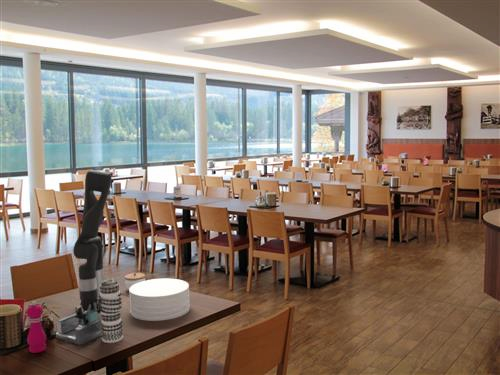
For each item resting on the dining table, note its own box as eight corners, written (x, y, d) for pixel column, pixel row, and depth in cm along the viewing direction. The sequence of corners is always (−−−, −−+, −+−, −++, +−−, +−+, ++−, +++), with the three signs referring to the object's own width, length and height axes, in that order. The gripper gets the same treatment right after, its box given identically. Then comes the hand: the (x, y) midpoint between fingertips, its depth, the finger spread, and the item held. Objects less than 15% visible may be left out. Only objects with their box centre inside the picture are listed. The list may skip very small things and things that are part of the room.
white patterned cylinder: (112, 332, 235) (108, 276, 232) (128, 336, 230) (125, 279, 227) (96, 340, 227) (92, 281, 224) (112, 344, 223) (109, 285, 219)
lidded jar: (129, 286, 300) (128, 269, 299) (148, 286, 299) (147, 269, 298) (122, 292, 289) (121, 275, 288) (142, 292, 288) (141, 275, 287)
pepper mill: (31, 346, 223) (27, 298, 220) (49, 345, 223) (46, 297, 221) (25, 353, 216) (21, 304, 213) (44, 352, 216) (40, 303, 214)
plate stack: (172, 296, 282) (171, 275, 280) (200, 311, 259) (199, 288, 258) (120, 309, 265) (119, 286, 264) (146, 325, 243) (145, 300, 241)
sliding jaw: (57, 332, 232) (56, 320, 231) (74, 325, 239) (74, 313, 238) (61, 334, 230) (60, 321, 230) (78, 327, 238) (78, 314, 237)
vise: (56, 337, 231) (55, 323, 230) (77, 329, 240) (76, 314, 239) (80, 345, 223) (79, 329, 222) (100, 335, 232) (99, 321, 231)
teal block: (82, 327, 242) (81, 312, 241) (89, 324, 245) (88, 309, 244) (91, 330, 239) (90, 314, 238) (98, 327, 242) (97, 311, 241)
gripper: (94, 282, 248) (97, 319, 250) (69, 291, 236) (71, 329, 238) (106, 284, 243) (108, 322, 246) (81, 293, 232) (83, 332, 234)
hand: (90, 325), depth 242 cm, fingers closed on teal block, 4 cm apart
